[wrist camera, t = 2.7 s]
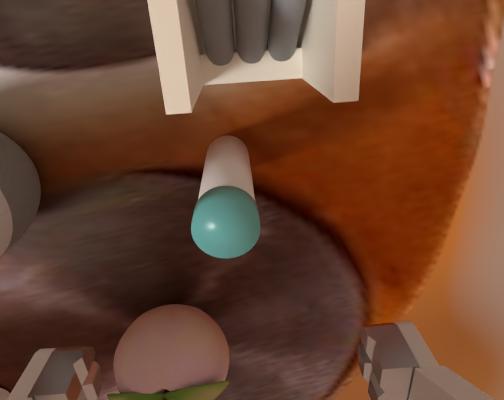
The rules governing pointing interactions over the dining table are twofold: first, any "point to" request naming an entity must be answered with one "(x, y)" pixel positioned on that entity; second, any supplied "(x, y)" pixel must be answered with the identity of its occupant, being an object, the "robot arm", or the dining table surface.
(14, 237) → the smart speaker
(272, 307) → the dining table surface
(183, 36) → the tilted socket
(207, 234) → the marker
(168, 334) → the decorative fruit
